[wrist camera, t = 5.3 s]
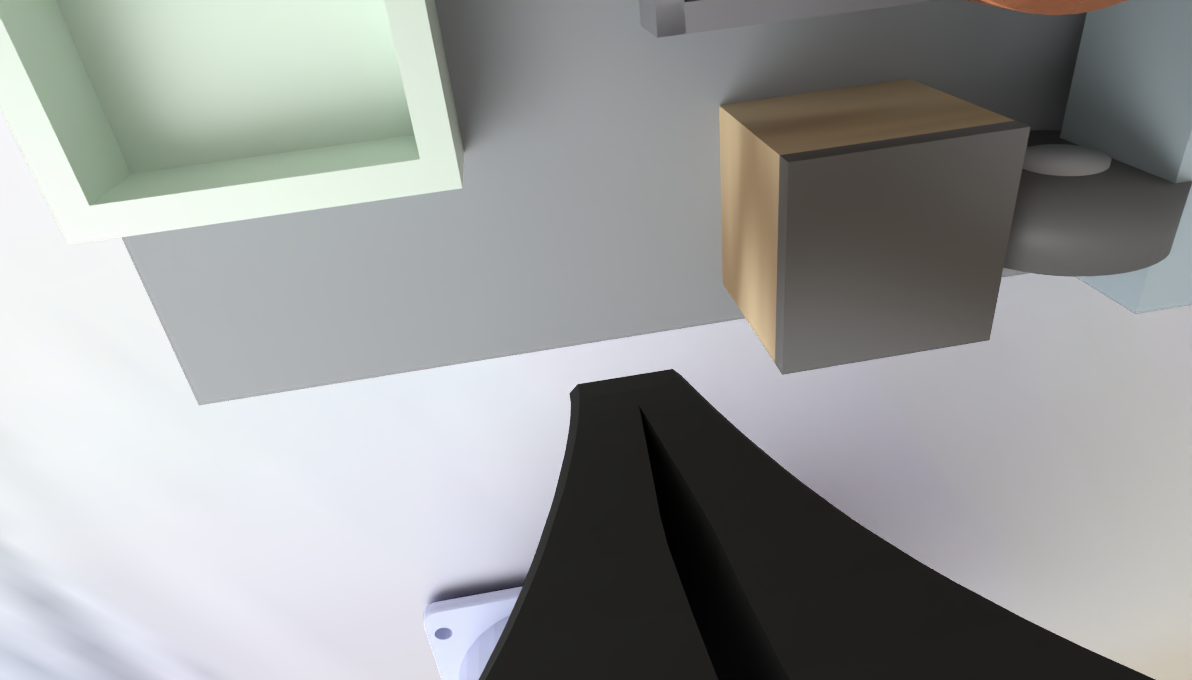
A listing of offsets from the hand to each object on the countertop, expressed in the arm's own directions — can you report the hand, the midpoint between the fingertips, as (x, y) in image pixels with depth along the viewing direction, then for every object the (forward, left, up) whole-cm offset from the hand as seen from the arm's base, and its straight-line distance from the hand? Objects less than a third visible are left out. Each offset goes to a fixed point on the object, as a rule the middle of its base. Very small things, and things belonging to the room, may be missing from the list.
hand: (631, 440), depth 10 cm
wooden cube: (0, -5, -7) cm, 9 cm away
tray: (+6, +5, -7) cm, 11 cm away
